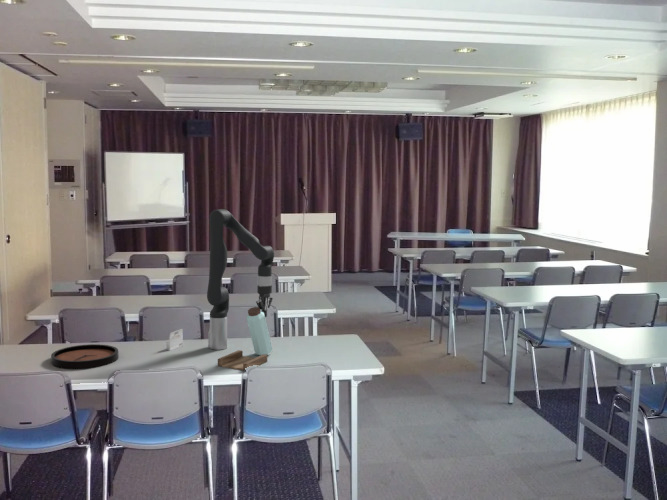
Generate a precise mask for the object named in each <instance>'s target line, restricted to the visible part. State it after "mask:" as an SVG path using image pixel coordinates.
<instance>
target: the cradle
mask: <svg viewBox="0 0 667 500" xmlns="http://www.w3.org/2000/svg"><path fill="white" fill-rule="evenodd" d="M243 353H244V352H243V350H239V349H237V350H236V351H234V352H231V353H229V354H227V355H224V356H221V357H219V358H217V366H218V367H223V368H228V369H235V370H238V371H239V370H240V371H244V370H245V368H247V367H249V366H253V365H259V366H261V365H263V364H265V363H267V362H268V354H267V355H265V354H263V355H261V356H260V355H257V356H256V357H252V356H245V355H244V354H243Z"/></svg>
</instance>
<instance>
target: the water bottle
mask: <svg viewBox="0 0 667 500" xmlns="http://www.w3.org/2000/svg"><path fill="white" fill-rule="evenodd" d="M246 323H247V325H248V331H249V335H250V338H251V342H252V346H253V350H254V354H255V355H257V356H261V355H263V354H265V355H267V356H268V355H269V354H270V353H271V352H273V345H272V341H271V337H270V336H271V335H270V333H269V330H268V329H269V328H268V325H267V320H266V317H265V315H264V312H262V310H261V309H260V308H259V307H258V306H254V307H250V308H249V309H248V310H247V315H246Z"/></svg>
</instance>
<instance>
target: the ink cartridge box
mask: <svg viewBox="0 0 667 500" xmlns="http://www.w3.org/2000/svg"><path fill="white" fill-rule="evenodd" d="M183 330H184V329H183V328H181V329H177V330H174V331H172V332H169V339H168V340H166V341H165V342H166V351H172V350H175V349H178V348H180V347H181V348H182V347H183V346H184V340H183V339H184V338H183V333H184V331H183Z"/></svg>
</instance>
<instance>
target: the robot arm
mask: <svg viewBox="0 0 667 500" xmlns="http://www.w3.org/2000/svg"><path fill="white" fill-rule="evenodd" d="M208 219H209V231H210V232H209V236H210V237H209V239H210V240H209V241H210V243H209V244H210V245H209V247H210V249H209V270H208V272H209V274H208V286H207V291H206V298H207V302H208V304H210V306H213V307H212V308H211V310H210V311H209V330H208V332H207V333H208V336H207V337H208V338H207V339H208V341H207V344H208V345H207V348H208V349H211V350H218V351H219V350H225V349H227V348H228V312H229V307H230V293H229V291H228V289H227V288H226V287H225V286H222V279H223V275H224V274H225V270H226V268H227V264H228V249H227V246H226V244H225V240H224V236H223V234H224V232H223V231H224V227H225V228H227V229H228V230H230V231H231V232H232V233H233V234H234V235H235V237H236V238H237V240H238V241H239V242H240V244H242V245H243V246H245V248H247V249H248V250H249V251H250V252H251V253H252V254H253V256H254V257H256V259H258V260H260V261H261V262H260V264H259V265H258V268H257V283H256V284H257V285H256V287H257V294H259V296H258V300H257V301H255V303H256V305H257V307H259V308H260V311H262V312H264V315H265V318H267V317H268V309H270V308H271V304H272V302H273V299H274V298H273V297H271V294H272V293H273V277H272V267H273V263H274V257H275V251H274V249H273V247H272V246H271V245H262V244H261V243H260V240H259V239H258V237H256V236H255V235H253V233H251V232H250V231H249V230H248V229H247V228H245V227H244V225H242V224H241V223H240V222H239V221H238V219H236V218H235V216H234V215H233V214H232V213H231V212H230V211H228V209H223V208H221V209H214V210H212V211H211V212H210V214H209V218H208Z"/></svg>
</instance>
